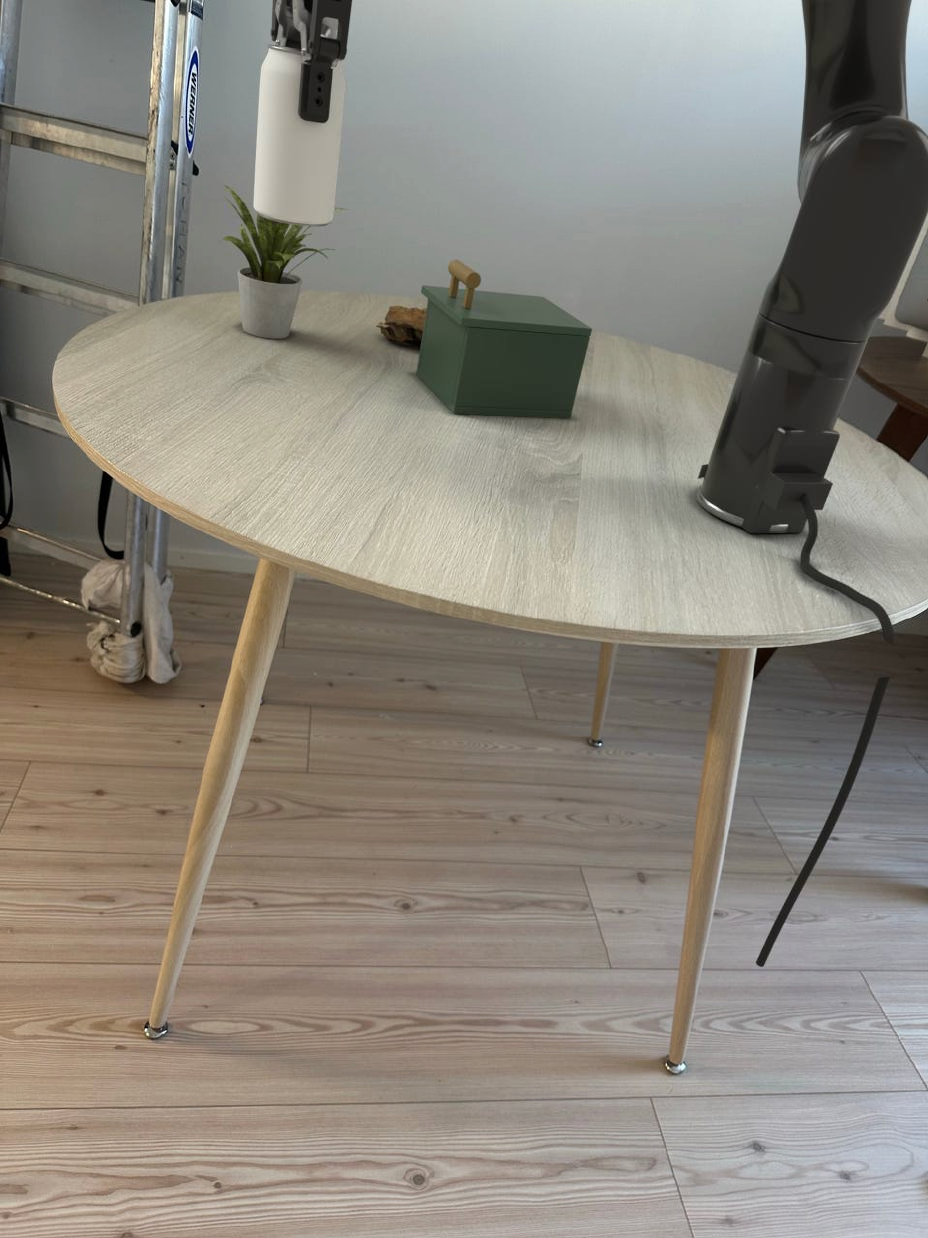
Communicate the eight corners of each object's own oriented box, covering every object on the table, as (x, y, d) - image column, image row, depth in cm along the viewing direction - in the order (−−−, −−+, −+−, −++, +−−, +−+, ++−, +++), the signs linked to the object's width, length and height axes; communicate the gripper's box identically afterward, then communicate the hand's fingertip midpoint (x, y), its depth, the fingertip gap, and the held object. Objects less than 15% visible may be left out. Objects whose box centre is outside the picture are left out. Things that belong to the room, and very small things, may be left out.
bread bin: (453, 413, 100) (469, 327, 95) (415, 374, 109) (428, 293, 104) (570, 418, 105) (590, 336, 101) (525, 380, 114) (542, 304, 110)
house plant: (356, 356, 110) (375, 201, 102) (235, 354, 103) (246, 188, 95) (307, 317, 120) (322, 174, 112) (195, 313, 113) (202, 159, 105)
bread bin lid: (460, 326, 95) (469, 279, 93) (420, 292, 104) (427, 249, 102) (590, 336, 101) (601, 292, 99) (542, 303, 110) (550, 263, 107)
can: (339, 219, 84) (354, 59, 78) (323, 231, 78) (339, 59, 72) (264, 205, 84) (274, 43, 78) (243, 216, 78) (251, 42, 72)
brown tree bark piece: (407, 363, 113) (507, 364, 122) (414, 328, 111) (516, 332, 120) (357, 326, 120) (456, 330, 129) (364, 292, 118) (463, 299, 127)
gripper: (245, -157, 73) (234, 96, 81) (293, -174, 62) (275, 120, 70) (343, -132, 76) (322, 109, 84) (406, -144, 65) (375, 135, 73)
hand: (301, 113), depth 77 cm, fingers closed on can, 6 cm apart
